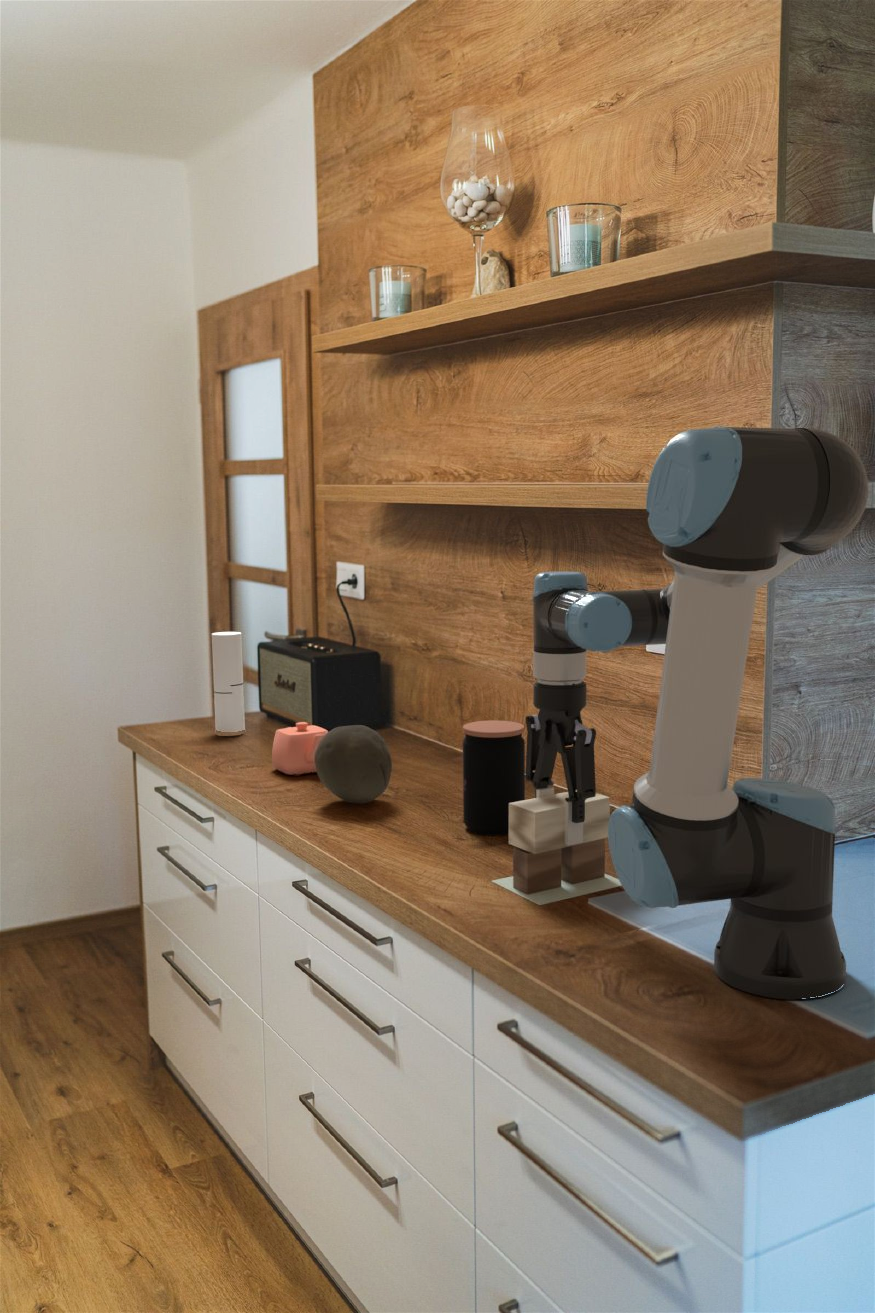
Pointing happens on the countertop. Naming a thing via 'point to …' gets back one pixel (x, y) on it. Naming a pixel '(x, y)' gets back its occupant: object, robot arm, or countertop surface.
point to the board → (563, 889)
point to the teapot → (296, 748)
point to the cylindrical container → (228, 681)
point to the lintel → (554, 822)
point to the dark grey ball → (354, 763)
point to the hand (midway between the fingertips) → (559, 837)
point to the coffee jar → (492, 774)
